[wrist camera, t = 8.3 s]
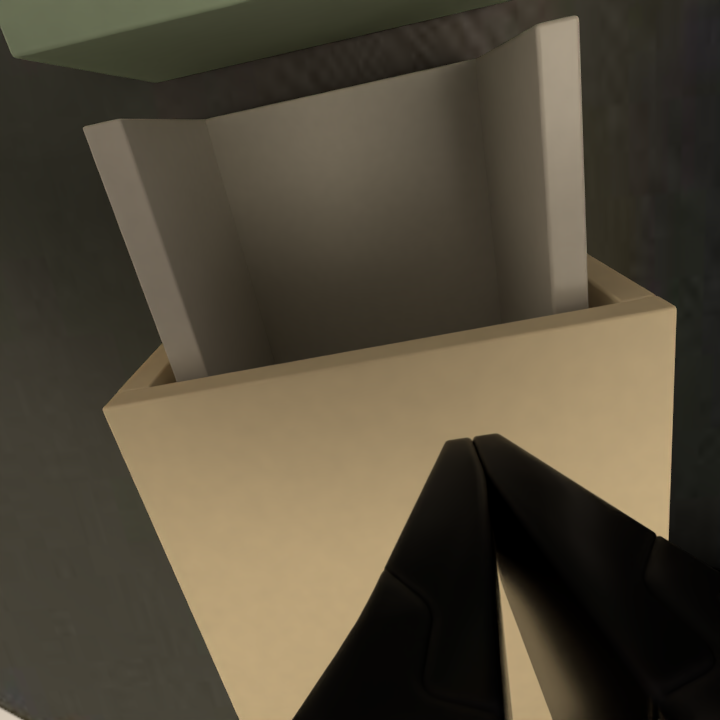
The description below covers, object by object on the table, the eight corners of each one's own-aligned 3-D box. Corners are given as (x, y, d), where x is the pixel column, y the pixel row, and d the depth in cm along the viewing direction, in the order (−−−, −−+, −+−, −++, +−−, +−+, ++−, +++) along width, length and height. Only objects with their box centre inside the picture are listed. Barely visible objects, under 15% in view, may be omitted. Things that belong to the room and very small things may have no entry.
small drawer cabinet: (211, 289, 20) (100, 409, 12) (542, 224, 19) (678, 306, 11) (301, 573, 26) (270, 791, 17) (562, 536, 25) (662, 749, 16)
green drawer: (74, -174, 14) (-187, -436, 7) (493, -292, 13) (624, -715, 7) (258, 416, 21) (209, 552, 15) (541, 367, 20) (627, 489, 14)
